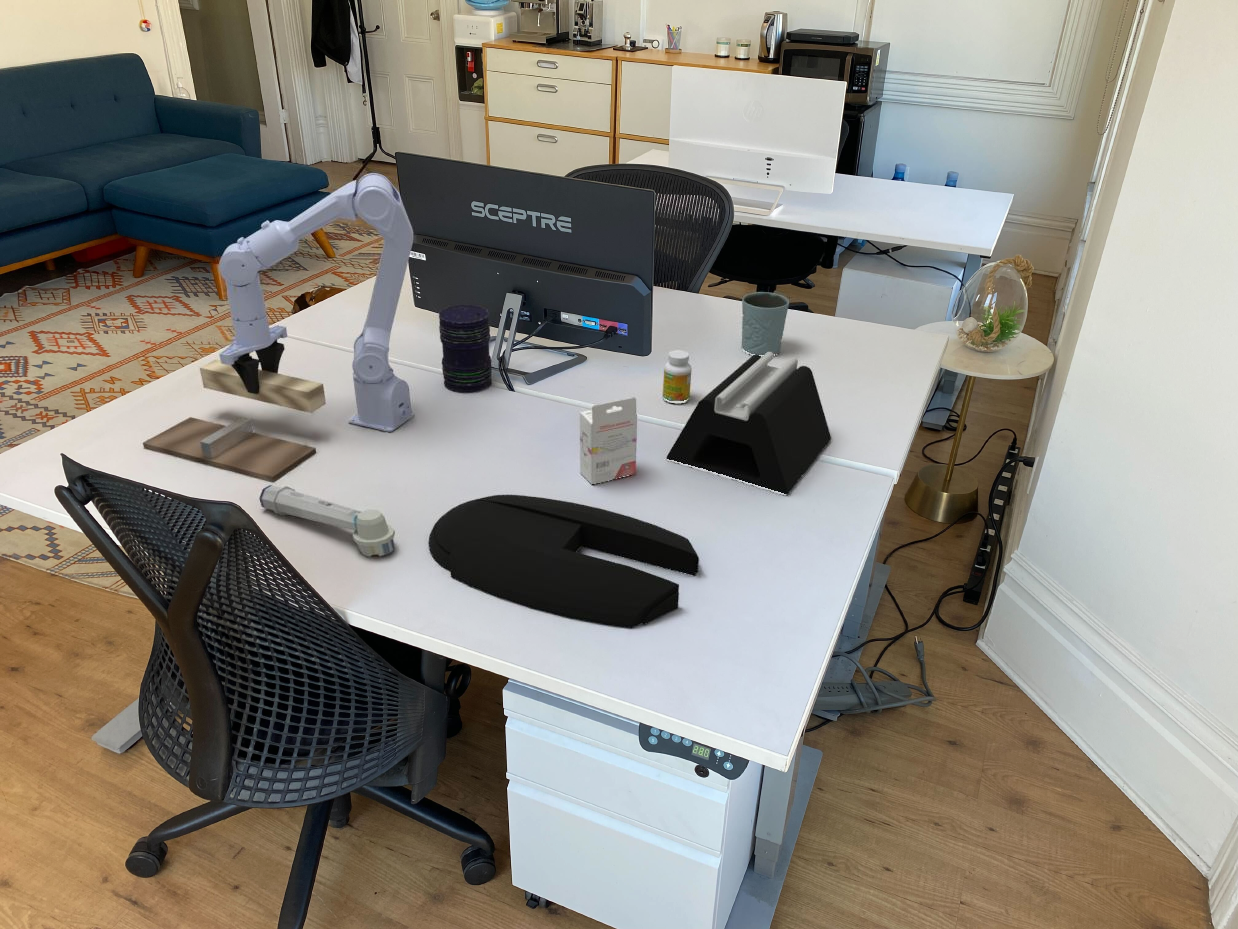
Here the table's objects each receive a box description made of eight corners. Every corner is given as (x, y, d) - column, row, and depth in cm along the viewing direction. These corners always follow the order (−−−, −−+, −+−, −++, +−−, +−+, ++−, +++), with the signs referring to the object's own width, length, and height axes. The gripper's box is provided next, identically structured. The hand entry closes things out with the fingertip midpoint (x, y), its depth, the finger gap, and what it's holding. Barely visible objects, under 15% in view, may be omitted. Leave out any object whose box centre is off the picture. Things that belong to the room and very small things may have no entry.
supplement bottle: (658, 402, 182) (660, 356, 177) (667, 391, 186) (670, 346, 181) (684, 407, 180) (687, 361, 175) (692, 396, 184) (696, 351, 180)
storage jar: (436, 391, 183) (430, 320, 176) (451, 371, 192) (447, 303, 184) (484, 395, 182) (481, 324, 175) (498, 375, 191) (495, 307, 183)
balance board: (316, 452, 160) (315, 447, 160) (273, 482, 151) (272, 476, 151) (191, 421, 169) (190, 417, 169) (143, 447, 160) (142, 442, 160)
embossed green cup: (784, 344, 209) (790, 294, 204) (781, 361, 201) (787, 309, 195) (740, 340, 211) (745, 289, 205) (735, 356, 203) (740, 304, 197)
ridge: (253, 434, 163) (250, 419, 162) (212, 459, 155) (209, 443, 154) (244, 432, 164) (241, 417, 163) (203, 456, 156) (199, 441, 155)
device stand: (830, 443, 169) (842, 368, 162) (787, 497, 152) (798, 416, 145) (718, 413, 179) (725, 341, 171) (666, 462, 161) (670, 384, 154)
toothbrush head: (279, 477, 146) (396, 504, 133) (289, 514, 148) (405, 543, 136) (252, 492, 142) (370, 520, 129) (263, 529, 144) (380, 561, 132)
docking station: (479, 489, 152) (478, 463, 150) (713, 547, 139) (716, 519, 137) (392, 571, 132) (389, 542, 129) (657, 648, 119) (659, 617, 117)
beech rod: (326, 404, 163) (323, 383, 161) (311, 413, 160) (308, 392, 158) (219, 379, 171) (215, 359, 169) (203, 387, 167) (199, 367, 165)
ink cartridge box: (622, 462, 160) (625, 385, 153) (636, 475, 156) (639, 397, 149) (578, 472, 157) (578, 394, 149) (591, 486, 153) (592, 407, 146)
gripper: (259, 299, 165) (272, 368, 172) (199, 325, 153) (215, 399, 160) (291, 305, 163) (302, 375, 169) (233, 332, 151) (247, 406, 158)
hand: (262, 387), depth 164 cm, fingers closed on beech rod, 4 cm apart
